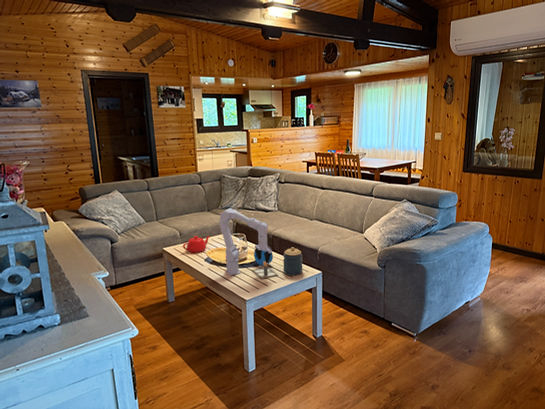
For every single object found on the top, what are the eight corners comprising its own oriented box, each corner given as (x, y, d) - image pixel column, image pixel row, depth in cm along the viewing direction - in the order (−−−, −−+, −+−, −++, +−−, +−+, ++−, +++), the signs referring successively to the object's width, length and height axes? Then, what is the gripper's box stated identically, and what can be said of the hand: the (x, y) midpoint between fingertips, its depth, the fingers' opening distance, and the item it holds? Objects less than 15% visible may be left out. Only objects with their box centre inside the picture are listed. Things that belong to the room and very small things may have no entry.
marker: (262, 274, 243) (262, 261, 241) (266, 273, 245) (265, 260, 243) (265, 275, 241) (265, 263, 239) (268, 274, 243) (268, 261, 241)
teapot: (188, 256, 283) (187, 241, 280) (179, 251, 294) (177, 237, 292) (215, 248, 299) (215, 234, 297) (205, 244, 311) (204, 231, 308)
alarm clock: (273, 265, 261) (272, 245, 258) (268, 267, 256) (267, 247, 253) (259, 261, 269) (258, 242, 266) (253, 264, 264) (253, 244, 261)
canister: (290, 277, 239) (290, 251, 236) (279, 271, 250) (279, 246, 246) (306, 272, 246) (306, 247, 243) (294, 266, 257) (294, 242, 253)
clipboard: (251, 271, 251) (251, 269, 251) (267, 267, 256) (267, 266, 256) (261, 279, 237) (261, 277, 237) (277, 275, 242) (277, 273, 242)
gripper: (251, 240, 241) (251, 259, 244) (265, 245, 231) (266, 265, 233) (259, 237, 246) (259, 257, 248) (273, 242, 235) (274, 262, 238)
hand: (263, 260), depth 241 cm, fingers open, 7 cm apart
